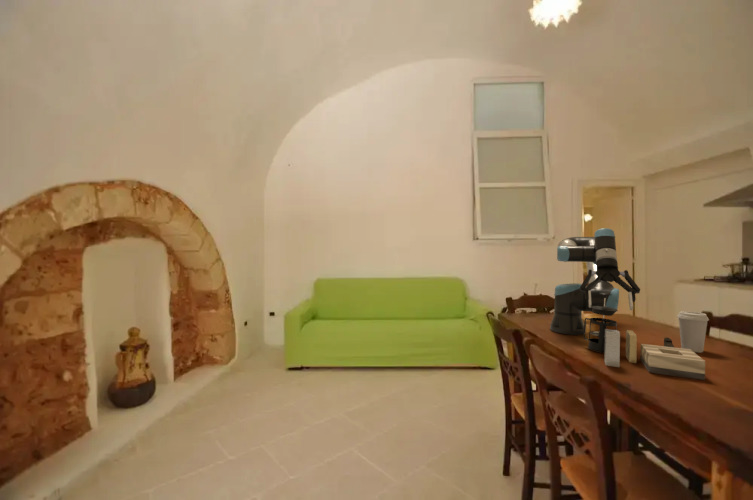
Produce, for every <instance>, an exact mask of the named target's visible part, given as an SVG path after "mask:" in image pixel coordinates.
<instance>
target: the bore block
mask: <svg viewBox="0 0 753 500" xmlns="http://www.w3.org/2000/svg"><path fill="white" fill-rule="evenodd" d="M674 347H675V346H674ZM674 347H665V346H664V345H655V344H647V343H646V344H645V343H640V355H639V356H640V361H641V363H642V364H643V366H644V367H645V369H646V371H648V373H652V374H658V375H659V374H660V375H666V376H672V377H680V378H687V379H694V380H700V381H706V360H705V359H703V358H702V357H700V356H699V355H698V354H697V352H693V351H692V350H691V349H683V348H681V347H675V348H674Z"/></svg>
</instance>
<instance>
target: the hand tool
mask: <svg viewBox="0 0 753 500" xmlns="http://www.w3.org/2000/svg"><path fill="white" fill-rule="evenodd" d="M663 346H665V347H674V348H676V347H675V345H674V344H673V341H672V339H671V338H670V337H664V338H663Z"/></svg>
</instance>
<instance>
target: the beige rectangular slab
mask: <svg viewBox="0 0 753 500" xmlns="http://www.w3.org/2000/svg"><path fill="white" fill-rule="evenodd" d="M637 336H638V335H637V334H636V333H635V332H634V330H628V329H626V330H625V357H626V359H627V360H628V362H629V363H631V364H637V347H638V346H637V344H638V342H637V341H638V340H637V338H638V337H637Z"/></svg>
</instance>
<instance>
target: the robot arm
mask: <svg viewBox="0 0 753 500" xmlns="http://www.w3.org/2000/svg"><path fill="white" fill-rule="evenodd" d="M616 247H617V246H616V233H615V231H614V230H613V229H611V228H608V227H607V228H605V227H602V228H599V229H596V231H595V232H594V236H573V237H567V238H564V239H563V240H561V241H560V242H559V243H558V244H557V248H556V258H557V259H556V260H557V261H558V262H564V263H567V262H568V263H569V262H570V263H571V262H572V263H575V262H579V263H580V262H581V263H585V264H586V270H587V271H586V272H587V275H586V277H585V279H584V281H582V283H577V282H576V283H573V282H572V283H562V284H558V285H556V286H555V288H554V315H553V317H552V319H551V323H550V327H549V328H550V331H552V332H554V333H558V334H564V335H570V336H571V335H572V336H573V335H574V336H581V335H584V321H583V320H584V319H583V318H582V312H590V313H592V308H591V306H604V295H602V294H599V293H609V294H611V295H607V296H606V298H605V307H610V308H614V309H617V310H618V308H619V301H620V299H619V298H620V289H619V288H616V287H614V285H613V284H612V283H613V282H615V283H616V284H617V285H619V286H620V287H621V288H623V289H624V290H625V291H626V292H628V295H627V296H628V297H627V298H628V304H629V305H628V306H629V311H633V310H634V303H633V302H635V303H636V299H637V298H636V295H637V294H640V291H641V287H639V286H638V284H637V283H636V282H635V281H634V280H633V278H632V277H631V276H630V274H629V271H628V270H627V269H625V270H623V271H620V270H619V265H618V264H619V263H618V254H617V248H616ZM620 276H621V277H620ZM622 278H624V279H625V281H626V282H627V283H626V282H625V281H624V280H623V279H622ZM585 332H586V329H585Z"/></svg>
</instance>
